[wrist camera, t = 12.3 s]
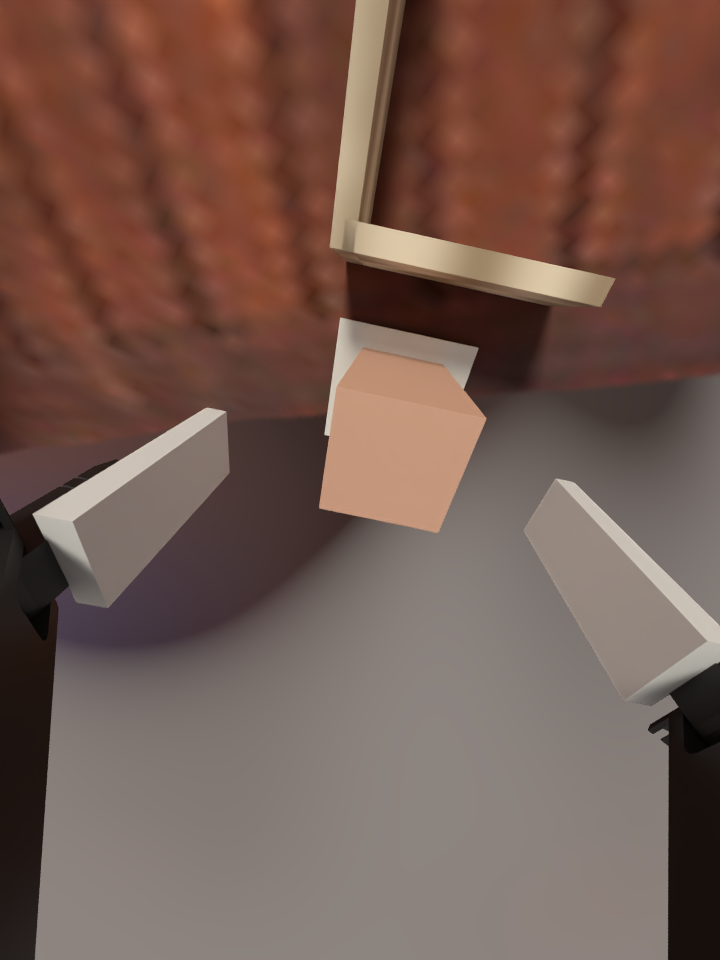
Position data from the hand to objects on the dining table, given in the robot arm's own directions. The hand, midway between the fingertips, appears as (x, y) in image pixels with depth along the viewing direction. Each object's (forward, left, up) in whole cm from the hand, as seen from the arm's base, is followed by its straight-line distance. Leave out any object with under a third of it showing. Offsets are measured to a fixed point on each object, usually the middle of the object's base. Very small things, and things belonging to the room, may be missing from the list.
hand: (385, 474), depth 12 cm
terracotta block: (0, 0, -13) cm, 13 cm away
